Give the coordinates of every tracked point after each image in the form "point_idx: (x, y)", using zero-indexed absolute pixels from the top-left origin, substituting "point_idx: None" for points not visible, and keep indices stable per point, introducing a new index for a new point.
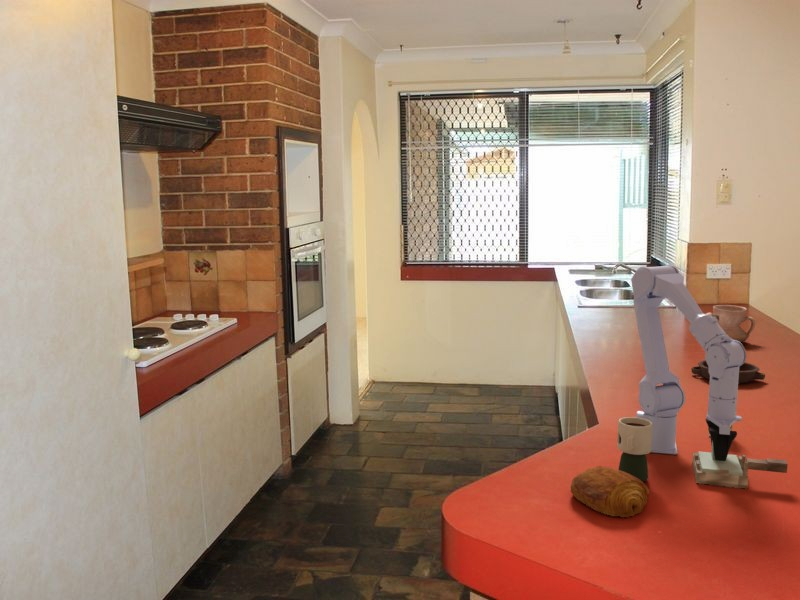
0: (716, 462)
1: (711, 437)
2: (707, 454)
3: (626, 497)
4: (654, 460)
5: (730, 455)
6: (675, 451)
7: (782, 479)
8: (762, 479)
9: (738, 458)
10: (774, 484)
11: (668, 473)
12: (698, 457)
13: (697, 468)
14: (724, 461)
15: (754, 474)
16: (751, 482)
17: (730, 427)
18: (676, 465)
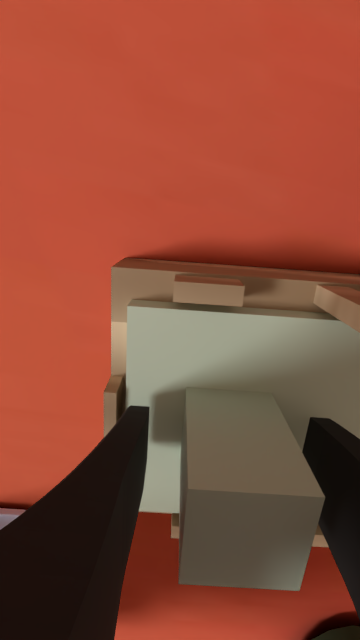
0: (300, 448)
1: (123, 570)
2: (165, 473)
3: None
4: (124, 579)
5: (149, 348)
6: (8, 521)
7: (258, 7)
8: (276, 157)
9: (128, 284)
10: (352, 95)
11: None
12: None
13: None
14: (279, 403)
15: (200, 189)
16: (330, 235)
17: (84, 593)
18: (160, 520)
